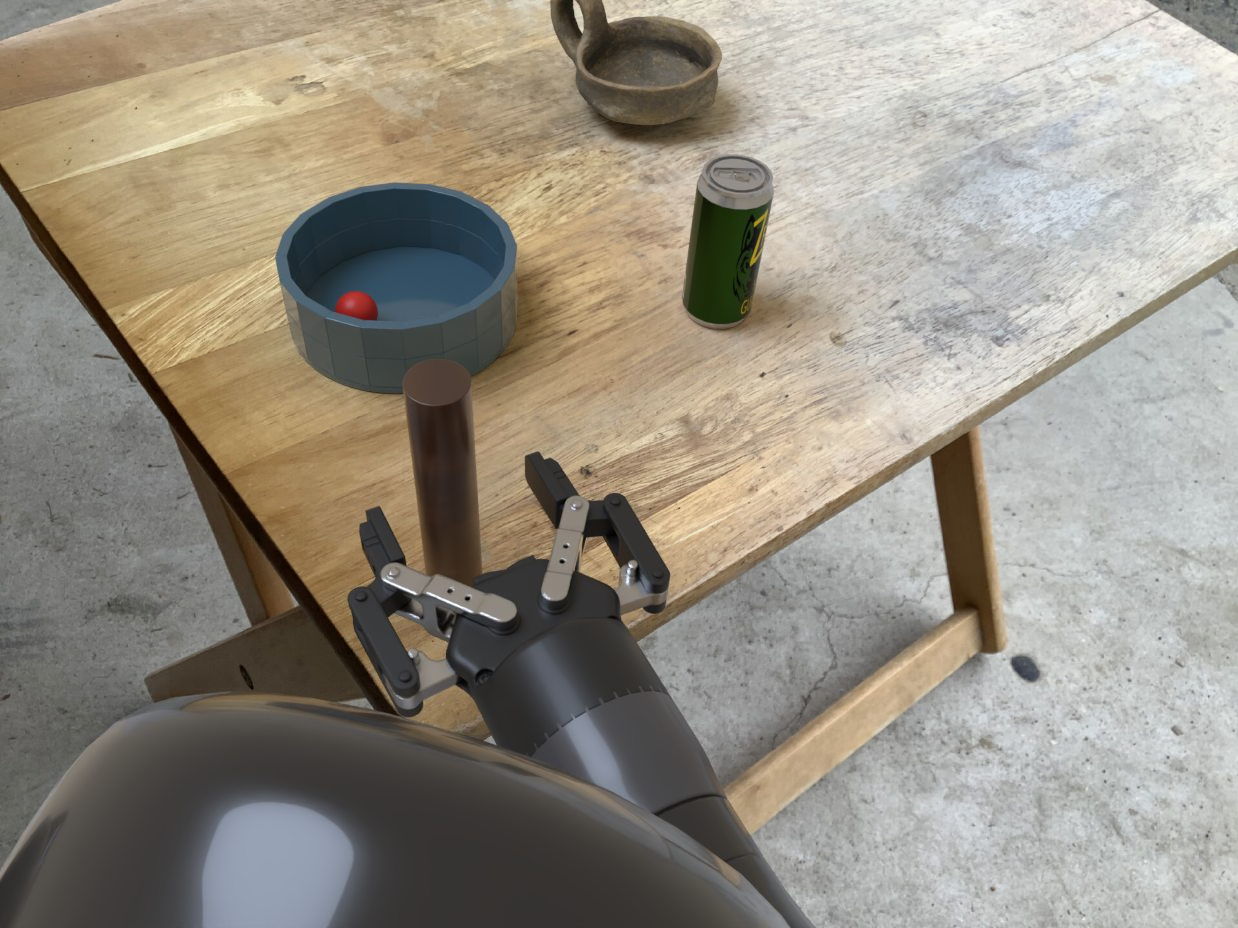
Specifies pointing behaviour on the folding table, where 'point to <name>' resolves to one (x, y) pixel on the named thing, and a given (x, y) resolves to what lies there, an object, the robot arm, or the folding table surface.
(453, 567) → the brown wooden rod
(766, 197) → the beer can
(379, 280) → the mixing bowl
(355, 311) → the cherry
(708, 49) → the bowl
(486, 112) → the folding table surface
